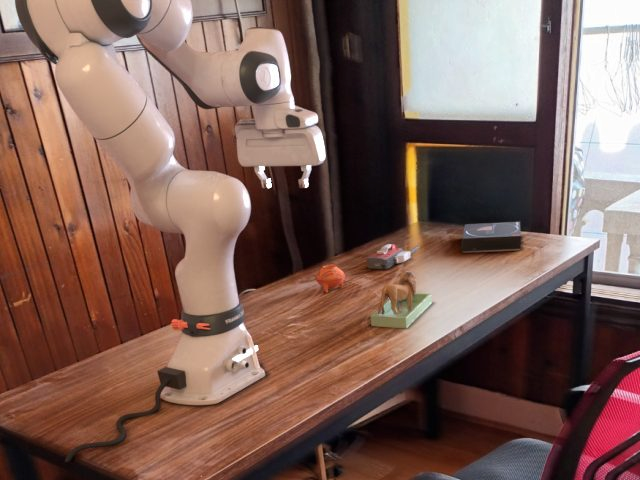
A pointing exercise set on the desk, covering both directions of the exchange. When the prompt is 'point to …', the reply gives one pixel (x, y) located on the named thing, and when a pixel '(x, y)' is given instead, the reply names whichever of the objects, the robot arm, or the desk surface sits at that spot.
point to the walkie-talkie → (389, 257)
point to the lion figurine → (399, 293)
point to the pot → (330, 277)
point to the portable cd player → (491, 237)
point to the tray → (404, 318)
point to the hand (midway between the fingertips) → (285, 187)
